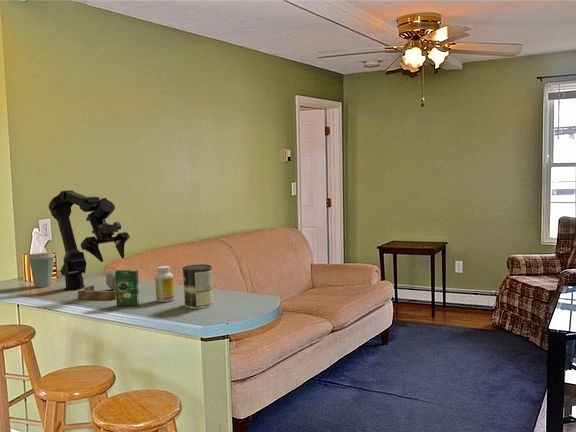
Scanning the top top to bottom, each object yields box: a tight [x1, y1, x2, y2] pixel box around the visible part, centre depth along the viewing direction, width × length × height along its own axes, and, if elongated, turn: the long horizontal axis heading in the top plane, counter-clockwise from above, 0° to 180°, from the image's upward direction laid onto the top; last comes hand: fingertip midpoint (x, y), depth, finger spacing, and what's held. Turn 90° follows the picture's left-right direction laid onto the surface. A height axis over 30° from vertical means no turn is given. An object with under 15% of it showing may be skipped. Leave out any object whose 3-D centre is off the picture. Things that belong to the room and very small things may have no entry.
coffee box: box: [114, 269, 140, 307], centre depth 213 cm, size 8×3×13 cm, turn 87°
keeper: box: [77, 284, 116, 301], centre depth 231 cm, size 18×11×3 cm, turn 76°
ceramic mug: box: [105, 270, 116, 291], centre depth 243 cm, size 11×8×8 cm
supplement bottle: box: [154, 265, 175, 303], centre depth 218 cm, size 7×7×13 cm
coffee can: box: [182, 263, 214, 310], centre depth 209 cm, size 10×10×14 cm
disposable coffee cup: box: [28, 252, 56, 288], centre depth 256 cm, size 11×11×15 cm
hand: (113, 259), depth 227 cm, fingers open, 9 cm apart
